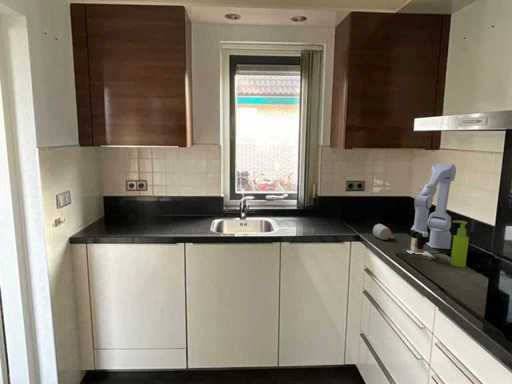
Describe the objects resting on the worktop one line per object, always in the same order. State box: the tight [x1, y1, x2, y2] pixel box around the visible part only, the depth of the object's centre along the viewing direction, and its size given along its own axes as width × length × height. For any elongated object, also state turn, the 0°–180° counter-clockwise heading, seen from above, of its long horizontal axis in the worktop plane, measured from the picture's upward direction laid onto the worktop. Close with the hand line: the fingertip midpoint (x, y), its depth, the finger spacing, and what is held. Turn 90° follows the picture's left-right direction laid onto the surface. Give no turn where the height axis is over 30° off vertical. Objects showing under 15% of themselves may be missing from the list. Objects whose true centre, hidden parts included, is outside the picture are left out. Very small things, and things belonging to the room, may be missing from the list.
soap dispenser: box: [450, 220, 470, 268], centre depth 151 cm, size 6×7×20 cm
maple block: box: [410, 237, 425, 253], centre depth 164 cm, size 4×4×6 cm
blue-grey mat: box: [405, 249, 435, 258], centre depth 165 cm, size 14×12×1 cm
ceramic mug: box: [372, 223, 395, 241], centre depth 192 cm, size 11×8×8 cm
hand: (418, 247), depth 164 cm, fingers closed on maple block, 4 cm apart
